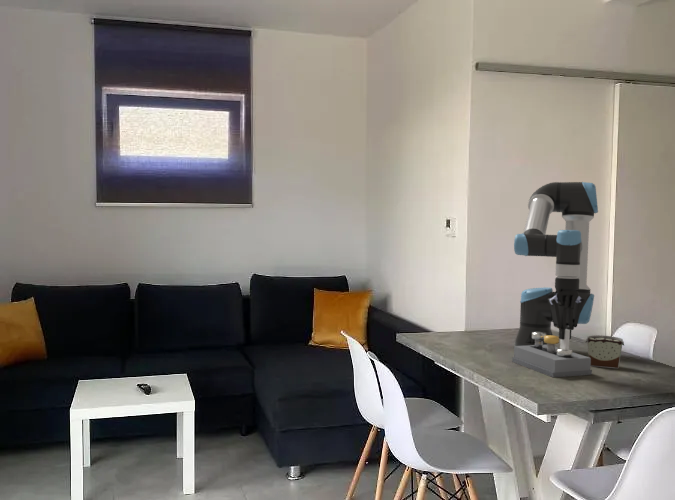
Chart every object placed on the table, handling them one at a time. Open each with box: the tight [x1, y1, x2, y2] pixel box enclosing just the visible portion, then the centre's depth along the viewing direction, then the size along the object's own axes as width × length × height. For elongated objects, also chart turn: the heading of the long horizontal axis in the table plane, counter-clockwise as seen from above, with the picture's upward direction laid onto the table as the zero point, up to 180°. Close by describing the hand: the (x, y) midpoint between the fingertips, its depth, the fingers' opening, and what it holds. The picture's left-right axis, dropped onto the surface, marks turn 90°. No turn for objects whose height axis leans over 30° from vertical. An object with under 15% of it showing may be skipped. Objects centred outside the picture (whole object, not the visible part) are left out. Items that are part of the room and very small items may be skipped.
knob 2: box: [557, 347, 573, 358], centre depth 224 cm, size 5×5×6 cm
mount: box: [511, 345, 593, 378], centre depth 231 cm, size 15×23×6 cm, turn 19°
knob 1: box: [532, 332, 546, 350], centre depth 237 cm, size 5×5×6 cm
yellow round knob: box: [544, 334, 560, 355], centre depth 231 cm, size 5×5×6 cm
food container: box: [585, 334, 625, 369], centre depth 237 cm, size 12×6×10 cm, turn 71°
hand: (564, 348), depth 224 cm, fingers closed
